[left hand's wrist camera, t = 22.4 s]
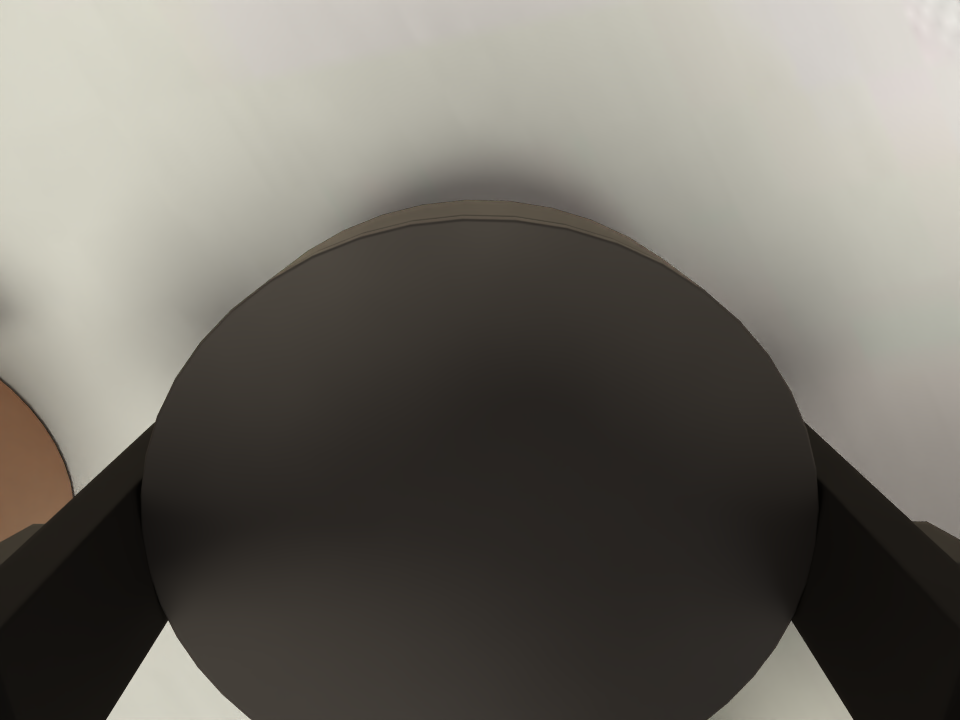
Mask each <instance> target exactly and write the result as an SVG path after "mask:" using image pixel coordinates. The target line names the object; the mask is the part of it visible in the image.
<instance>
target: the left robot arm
mask: <svg viewBox="0 0 960 720" xmlns="http://www.w3.org/2000/svg"><path fill="white" fill-rule="evenodd" d="M804 424H805V426H806V429H807V432H808V436H809V440H810V445H811V449H812V453H813V457H814V462H815V466H816V473H817V486H818V500H819V516H818V527H817V537H816V543H815V548H814V553H813V557H812V562H811V566H810V571H809V575H808V580H807V584H806V586H805V589H804V591H803V594H802V596H801V599H800V601H799V604H798V606H797V609H796V611H795V614H794V616H793V618H792V622H793V624H794V625H795V627H796V628H797V630H798V632H799V633H800V635H801V636H802V638H803V640H804V641H805V643H806V644H807V646H808V648H809V649H810V651H811V652H812V654H813V656H814V657H815V659H816V660H817V662H818V664H819V665H820V667H821V668H822V670H823V672H824V673H825V675H826V676H827V678H828V680H829V681H830V683H831V684H832V686H833V688H834V689H835V691H836V692H837V694H838V696H839V697H840V699H841V700H842V702H843V704H844V705H845V707H846V708H847V710H848V712H849V713H850V715H851V716H852V718H853V720H960V540H959V539H958V538H956V537H954V536H952V535H950V534H948V533H947V532H945V531H943V530H941V529H939V528H938V527H936V526H934V525H932V524H930V523H929V522H912V521H911V520H910V519H909V518H908V517H907V516H906V515H904V514H903V513H902V512H901V511H900V510H899V509H898V508H897V507H896V506H895V505H894V504H893V503H891V502H890V501H889V500H888V499H887V498H886V497H885V496H884V495H883V494H882V493H881V492H880V491H878V490H877V489H876V488H875V487H874V486H873V485H872V484H871V483H870V482H869V481H868V480H867V479H866V478H864V477H863V476H862V475H861V474H860V473H859V472H858V471H857V470H856V469H855V468H854V467H853V466H851V465H850V464H849V463H848V462H847V461H846V460H845V459H844V458H843V457H842V456H841V455H840V454H838V453H837V452H836V451H835V450H834V449H833V448H832V447H831V446H830V445H829V444H828V443H827V442H826V441H824V440H823V439H822V438H821V437H820V436H819V435H818V434H817V433H816V432H815V431H814V430H813V429H811V428H810V427H809V426H808V425H807V424H806V423H805V422H804ZM154 425H155V423H154V424H152V425H151V426H150V427H149V428H148V429H147V430H146V431H145V432H144V433H143V434H142V435H141V436H139V437H138V438H137V439H136V440H135V441H134V442H133V443H132V444H131V445H130V446H129V447H128V448H126V449H125V450H124V451H123V452H122V453H121V454H120V455H119V456H118V457H117V458H116V459H115V460H114V461H112V462H111V463H110V464H109V465H108V466H107V467H106V468H105V469H104V470H103V471H102V472H101V473H99V474H98V475H97V476H96V477H95V478H94V479H93V480H92V481H91V482H90V483H89V484H88V485H86V486H85V487H84V488H83V489H82V490H81V491H80V492H79V493H78V494H77V495H76V496H75V497H73V498H72V499H71V500H70V501H69V502H68V503H67V504H66V505H65V506H64V507H63V508H62V509H61V510H59V511H58V512H57V513H56V514H55V515H54V516H53V517H52V518H51V519H50V520H49V521H48V522H46V523H45V524H32V525H30V526H28V527H27V528H25V529H23V530H21V531H19V532H18V533H16V534H14V535H12V536H10V537H9V538H7V539H5V540H3V541H1V542H0V720H106V719H107V717H108V716H109V714H110V713H111V711H112V709H113V708H114V706H115V705H116V703H117V701H118V700H119V698H120V697H121V695H122V693H123V692H124V690H125V689H126V687H127V685H128V684H129V682H130V680H131V679H132V677H133V676H134V674H135V672H136V671H137V669H138V668H139V666H140V664H141V663H142V661H143V660H144V658H145V656H146V655H147V653H148V652H149V650H150V648H151V647H152V645H153V644H154V642H155V640H156V639H157V637H158V636H159V634H160V632H161V631H162V629H163V628H164V626H165V624H166V623H167V621H168V619H167V617H166V615H165V613H164V611H163V609H162V607H161V605H160V602H159V599H158V596H157V593H156V590H155V588H154V585H153V582H152V578H151V574H150V570H149V565H148V561H147V556H146V551H145V546H144V541H143V536H142V531H141V496H140V495H141V487H142V479H143V471H144V464H145V456H146V452H147V449H148V445H149V442H150V439H151V435H152V432H153V428H154Z"/></svg>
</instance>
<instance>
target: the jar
mask: <svg viewBox="0 0 960 720" xmlns="http://www.w3.org/2000/svg"><path fill="white" fill-rule="evenodd" d="M72 498H73V494H72V488H71V483H70V479H69V476H68V473H67V470H66V467H65V464H64V462H63V460H62V457H61V455H60V453H59V451H58V449H57V447H56V445H55V443H54V441H53V440H52V438H51V437H50V435H49V433H48V432H47V430H46V429H45V427H44V425H43V424H42V423H41V422H40V420H39V419H38V418H37V417H36V415H35V414H34V413H33V412H32V410H31V409H30V408H29V407H28V406H27V405H26V404H25V403H24V402H23V401H22V400H21V399H20V398H19V396H18V395H17V394H16V393H15V392H14V391H13V390H12V389H10V388H9V387H8V386H7V385H5V384H4V383H3V382H2V381H1V380H0V542H1V541H3V540H5V539H7V538H9V537H10V536H12V535H14V534H16V533H18V532H19V531H21V530H23V529H25V528H27V527H28V526H30V525H32V524H45V523H46V522H48V521H49V520H50V519H51V518H52V517H53V516H54V515H55V514H56V513H57V512H58V511H59V510H61V509H62V508H63V507H64V506H65V505H66V504H67V503H68V502H69V501H70V500H71V499H72Z"/></svg>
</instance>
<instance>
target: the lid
mask: <svg viewBox="0 0 960 720" xmlns="http://www.w3.org/2000/svg"><path fill="white" fill-rule="evenodd" d="M140 496H141V531H142V536H143V541H144V546H145V551H146V556H147V561H148V565H149V570H150V574H151V578H152V582H153V585H154V588H155V590H156V593H157V596H158V599H159V602H160V605H161V607H162V609H163V611H164V613H165V615H166V617H167V619H168V621H169V623H170V624H171V626H172V628H173V630H174V632H175V634H176V636H177V638H178V639H179V641H180V642H181V644H182V645H183V647H184V648H185V649H186V651H187V652H188V654H189V655H190V657H191V658H192V660H193V661H194V662H195V664H196V665H197V667H198V668H199V669H200V670H201V671H202V672H203V674H204V675H205V676H206V677H207V678H208V679H209V680H210V681H211V682H212V684H213V685H214V686H215V687H216V688H217V689H218V690H219V691H220V692H221V694H222V695H224V696H225V697H226V698H227V699H228V700H229V701H230V702H232V703H233V704H234V705H235V706H236V707H237V708H238V709H240V710H241V711H242V712H243V713H244V714H245V715H246V716H247V717H249V718H250V719H251V720H707V719H709V718H710V717H711V716H712V715H714V714H715V713H716V712H717V711H719V710H720V709H721V708H722V707H723V706H725V705H726V704H727V703H728V702H729V701H730V700H731V699H732V698H733V697H734V696H735V695H736V694H737V693H738V692H739V691H740V690H741V689H742V688H743V687H744V686H745V685H746V684H747V683H748V682H749V681H750V680H751V679H752V678H753V677H754V675H755V674H756V673H757V671H758V670H759V669H760V667H761V666H762V665H763V664H764V662H765V661H766V660H767V658H768V657H769V656H770V654H771V653H772V652H773V650H774V649H775V648H776V646H777V644H778V643H779V641H780V639H781V637H782V636H783V634H784V632H785V630H786V629H787V627H788V625H789V623H790V622H791V620H792V618H793V616H794V614H795V611H796V609H797V606H798V604H799V601H800V599H801V596H802V594H803V591H804V589H805V586H806V584H807V580H808V575H809V571H810V566H811V562H812V557H813V553H814V548H815V543H816V537H817V527H818V516H819V500H818V486H817V473H816V466H815V462H814V457H813V453H812V449H811V445H810V440H809V436H808V432H807V429H806V426H805V424H804V421H803V419H802V417H801V414H800V412H799V409H798V407H797V404H796V402H795V400H794V397H793V395H792V392H791V390H790V389H789V387H788V386H787V384H786V382H785V381H784V379H783V377H782V376H781V374H780V373H779V371H778V369H777V368H776V366H775V364H774V363H773V361H772V359H771V358H770V356H769V355H768V354H767V352H766V351H765V350H764V349H763V348H762V346H761V345H760V344H759V343H758V342H757V341H756V339H755V338H754V337H753V336H752V335H751V334H750V332H749V331H748V330H747V329H746V328H745V326H744V325H743V324H742V323H741V322H740V321H739V320H738V319H737V318H736V317H735V316H734V315H732V314H731V313H730V312H729V311H728V310H727V309H726V308H724V307H723V306H722V305H721V304H720V303H719V302H717V301H716V300H715V299H714V298H713V297H712V296H711V295H709V294H708V293H707V292H706V291H705V290H704V289H702V288H701V287H700V286H698V285H697V284H696V283H694V282H693V281H692V280H690V279H689V278H688V277H686V276H685V275H684V274H682V273H681V272H680V271H678V270H677V269H676V268H674V267H673V266H672V265H670V264H669V263H667V262H666V261H665V260H663V259H662V258H661V257H659V256H657V255H656V254H654V253H653V252H651V251H650V250H648V249H646V248H645V247H643V246H642V245H640V244H639V243H637V242H636V241H634V240H632V239H631V238H629V237H627V236H625V235H623V234H621V233H619V232H617V231H614V230H612V229H610V228H608V227H606V226H603V225H601V224H599V223H597V222H595V221H593V220H590V219H587V218H583V217H580V216H577V215H573V214H570V213H567V212H563V211H560V210H557V209H554V208H550V207H543V206H537V205H531V204H524V203H518V202H512V201H488V200H461V201H452V202H443V203H434V204H425V205H420V206H416V207H412V208H408V209H404V210H400V211H396V212H392V213H388V214H384V215H381V216H378V217H376V218H373V219H371V220H368V221H366V222H363V223H361V224H358V225H356V226H353V227H351V228H348V229H346V230H343V231H342V232H340V233H338V234H336V235H335V236H333V237H331V238H330V239H328V240H326V241H324V242H323V243H321V244H319V245H317V246H316V247H314V248H312V249H310V250H309V251H307V252H306V253H305V254H303V255H302V256H301V257H299V258H298V259H297V260H295V261H294V262H293V263H291V264H290V265H289V266H287V267H286V268H285V269H283V270H282V271H281V272H279V273H278V274H277V275H275V276H274V277H273V278H271V279H270V280H269V281H267V282H266V283H265V284H263V285H262V286H261V287H260V288H258V289H257V290H256V291H255V292H253V293H252V294H251V295H249V296H248V297H247V298H246V299H244V300H243V301H242V302H240V303H239V304H238V305H237V306H235V307H234V308H233V309H232V310H231V311H230V312H229V313H228V314H227V315H226V316H225V317H224V318H223V319H222V320H221V321H220V322H219V323H218V324H217V325H216V326H215V327H214V329H213V330H212V331H211V332H210V333H209V334H208V335H207V336H206V337H205V338H204V339H203V340H202V341H201V342H200V344H199V345H198V346H197V348H196V349H195V351H194V352H193V354H192V355H191V357H190V358H189V359H188V361H187V362H186V364H185V365H184V367H183V368H182V370H181V371H180V372H179V374H178V375H177V377H176V378H175V380H174V382H173V384H172V386H171V388H170V391H169V393H168V395H167V397H166V399H165V401H164V403H163V405H162V407H161V409H160V411H159V413H158V415H157V418H156V422H155V425H154V428H153V432H152V435H151V439H150V442H149V445H148V449H147V452H146V456H145V464H144V471H143V479H142V487H141V495H140Z"/></svg>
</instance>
